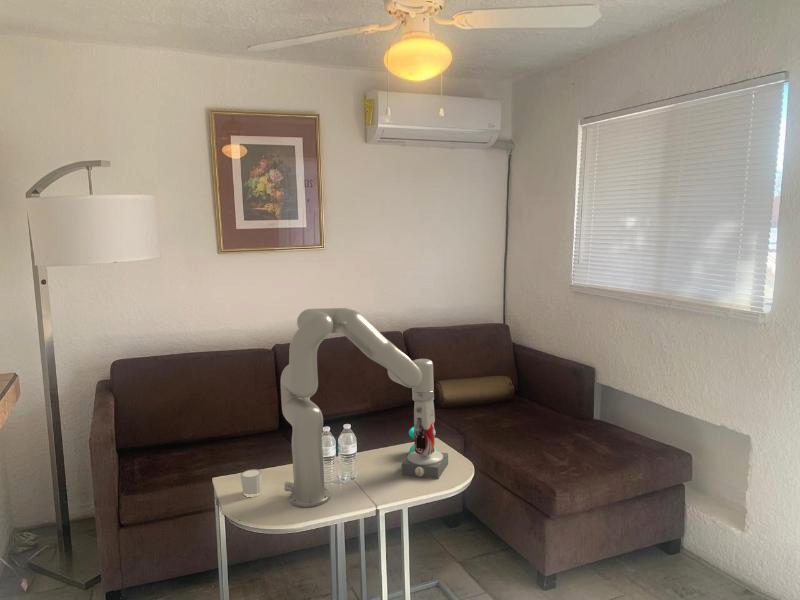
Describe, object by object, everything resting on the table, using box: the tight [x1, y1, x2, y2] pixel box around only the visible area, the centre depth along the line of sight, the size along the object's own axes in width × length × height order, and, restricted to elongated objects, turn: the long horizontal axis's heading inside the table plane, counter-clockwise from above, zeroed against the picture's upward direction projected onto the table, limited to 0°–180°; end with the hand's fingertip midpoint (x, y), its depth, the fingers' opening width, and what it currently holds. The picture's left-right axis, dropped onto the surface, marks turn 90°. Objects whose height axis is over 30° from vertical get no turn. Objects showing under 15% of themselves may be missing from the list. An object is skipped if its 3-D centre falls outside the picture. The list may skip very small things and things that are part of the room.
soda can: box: [413, 421, 436, 456], centre depth 199 cm, size 7×7×12 cm
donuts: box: [408, 426, 437, 454], centre depth 214 cm, size 10×10×10 cm
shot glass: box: [240, 468, 263, 495], centre depth 186 cm, size 7×7×7 cm
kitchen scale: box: [401, 450, 449, 480], centre depth 200 cm, size 13×14×5 cm
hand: (424, 443), depth 200 cm, fingers closed on soda can, 7 cm apart
